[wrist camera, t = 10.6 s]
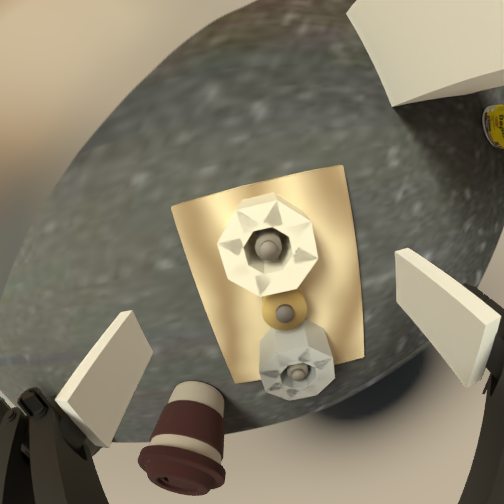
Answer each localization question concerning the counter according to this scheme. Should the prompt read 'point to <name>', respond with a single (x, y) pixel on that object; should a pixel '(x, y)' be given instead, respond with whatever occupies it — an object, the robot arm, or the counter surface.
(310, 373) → the seated gear
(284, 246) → the white octagonal block
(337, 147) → the counter surface
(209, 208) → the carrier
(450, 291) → the robot arm
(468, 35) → the milk
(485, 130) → the supplement bottle
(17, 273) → the counter surface
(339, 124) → the counter surface
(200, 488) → the coffee cup
